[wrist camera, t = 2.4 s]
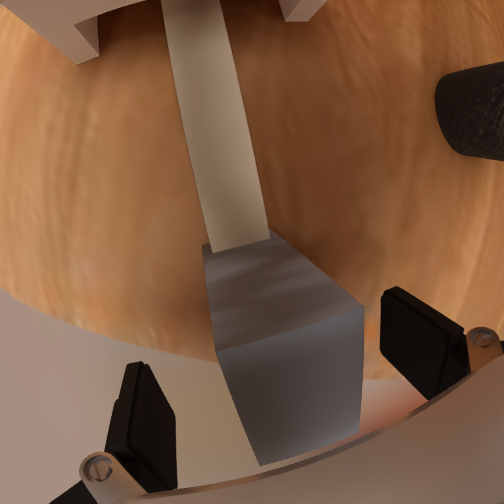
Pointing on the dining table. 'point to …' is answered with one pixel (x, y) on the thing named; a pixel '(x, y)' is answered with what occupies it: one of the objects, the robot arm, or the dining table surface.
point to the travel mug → (473, 110)
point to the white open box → (86, 26)
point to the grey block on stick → (260, 265)
